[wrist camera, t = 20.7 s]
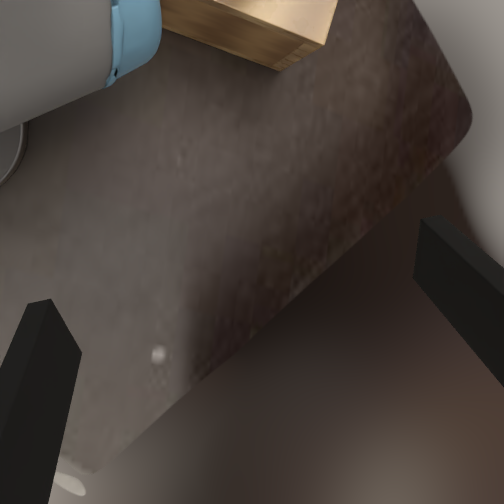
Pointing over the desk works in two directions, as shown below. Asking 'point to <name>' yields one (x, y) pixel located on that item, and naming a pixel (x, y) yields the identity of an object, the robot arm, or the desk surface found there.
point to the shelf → (253, 26)
